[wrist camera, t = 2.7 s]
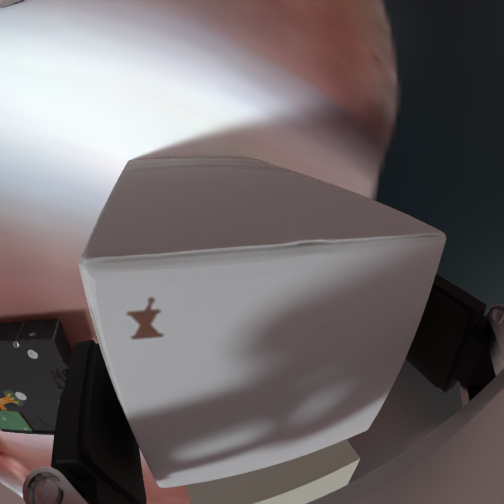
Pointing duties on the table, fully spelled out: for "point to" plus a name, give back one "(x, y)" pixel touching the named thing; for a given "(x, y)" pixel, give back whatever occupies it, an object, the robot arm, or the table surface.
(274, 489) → the upper block
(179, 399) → the supplement box
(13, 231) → the table surface
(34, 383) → the disk drive
